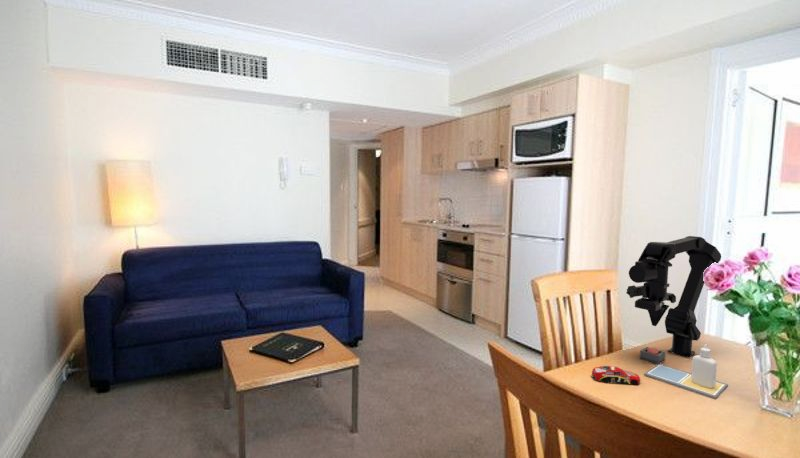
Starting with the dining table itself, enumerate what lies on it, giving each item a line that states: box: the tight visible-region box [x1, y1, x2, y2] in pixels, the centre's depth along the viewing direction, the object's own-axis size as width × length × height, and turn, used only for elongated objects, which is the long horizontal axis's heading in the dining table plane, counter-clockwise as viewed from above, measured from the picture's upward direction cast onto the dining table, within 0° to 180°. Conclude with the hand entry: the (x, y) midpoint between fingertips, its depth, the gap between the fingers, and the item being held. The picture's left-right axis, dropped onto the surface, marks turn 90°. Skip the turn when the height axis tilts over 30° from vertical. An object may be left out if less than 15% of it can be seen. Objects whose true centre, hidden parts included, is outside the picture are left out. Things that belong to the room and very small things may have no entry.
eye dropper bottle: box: [691, 344, 718, 388], centre depth 115 cm, size 4×6×12 cm
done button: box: [647, 347, 659, 355], centre depth 134 cm, size 3×3×2 cm
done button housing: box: [639, 346, 666, 365], centre depth 134 cm, size 6×6×3 cm
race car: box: [591, 365, 641, 386], centre depth 120 cm, size 13×5×4 cm, turn 78°
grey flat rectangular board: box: [643, 363, 729, 400], centre depth 119 cm, size 12×18×1 cm, turn 38°
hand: (654, 325), depth 133 cm, fingers closed
